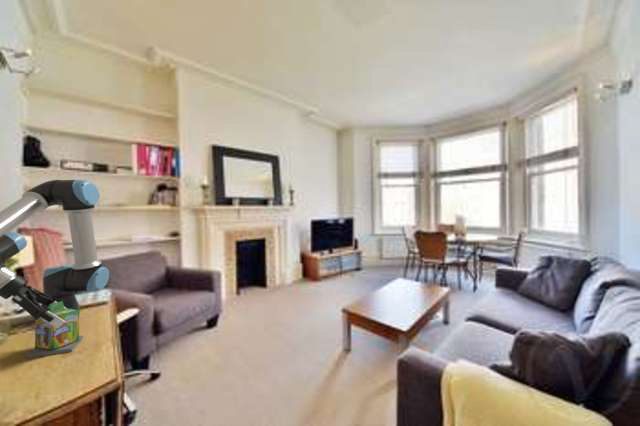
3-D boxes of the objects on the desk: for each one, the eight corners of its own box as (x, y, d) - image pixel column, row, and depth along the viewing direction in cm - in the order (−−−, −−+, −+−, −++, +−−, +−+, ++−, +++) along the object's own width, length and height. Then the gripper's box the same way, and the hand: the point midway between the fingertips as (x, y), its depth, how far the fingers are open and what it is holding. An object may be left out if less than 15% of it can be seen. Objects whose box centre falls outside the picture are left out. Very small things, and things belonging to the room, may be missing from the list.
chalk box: (52, 351, 102) (52, 308, 102) (33, 348, 105) (33, 305, 105) (80, 340, 111) (80, 300, 111) (62, 337, 114) (62, 298, 114)
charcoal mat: (42, 344, 111) (42, 340, 111) (82, 338, 116) (82, 335, 116) (26, 358, 100) (26, 354, 100) (71, 351, 105) (71, 348, 105)
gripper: (7, 285, 110) (60, 318, 118) (-20, 301, 89) (48, 340, 97) (27, 269, 112) (78, 302, 121) (6, 281, 92) (69, 320, 100)
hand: (64, 319), depth 109 cm, fingers open, 13 cm apart
